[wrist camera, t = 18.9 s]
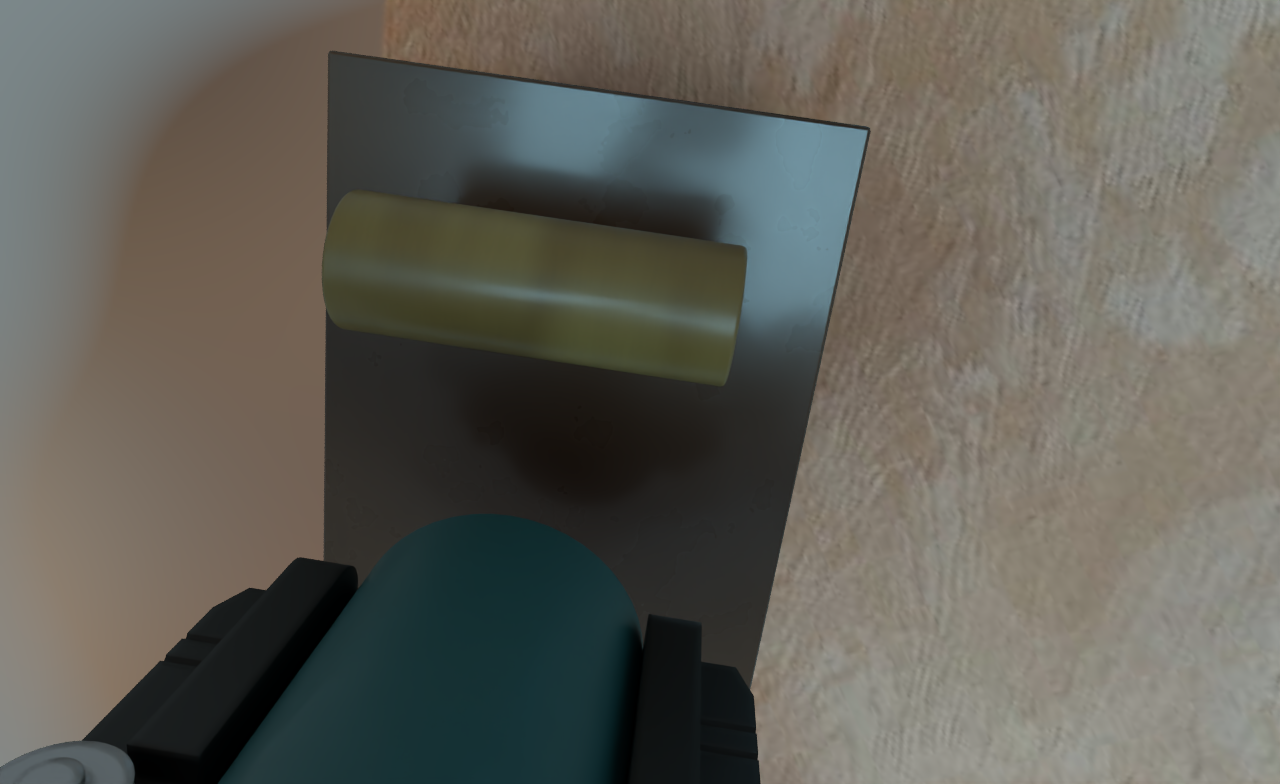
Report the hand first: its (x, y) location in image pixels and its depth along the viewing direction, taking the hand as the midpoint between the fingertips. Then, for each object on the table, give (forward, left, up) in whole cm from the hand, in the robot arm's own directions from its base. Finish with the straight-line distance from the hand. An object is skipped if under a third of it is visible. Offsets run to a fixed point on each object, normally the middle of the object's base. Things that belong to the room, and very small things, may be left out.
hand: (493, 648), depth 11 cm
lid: (-1, -1, -5) cm, 5 cm away
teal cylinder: (0, 0, 0) cm, 0 cm away
